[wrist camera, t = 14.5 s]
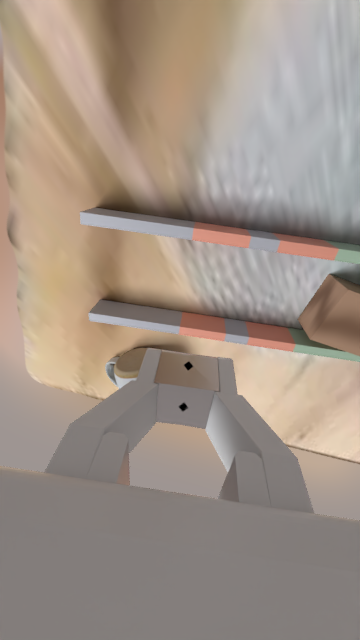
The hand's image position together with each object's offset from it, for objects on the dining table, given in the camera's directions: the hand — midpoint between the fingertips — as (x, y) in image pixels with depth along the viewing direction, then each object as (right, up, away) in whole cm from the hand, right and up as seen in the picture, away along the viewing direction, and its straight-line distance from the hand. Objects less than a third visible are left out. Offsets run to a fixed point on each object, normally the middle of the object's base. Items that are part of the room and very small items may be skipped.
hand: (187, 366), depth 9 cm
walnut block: (+20, +4, +24) cm, 31 cm away
